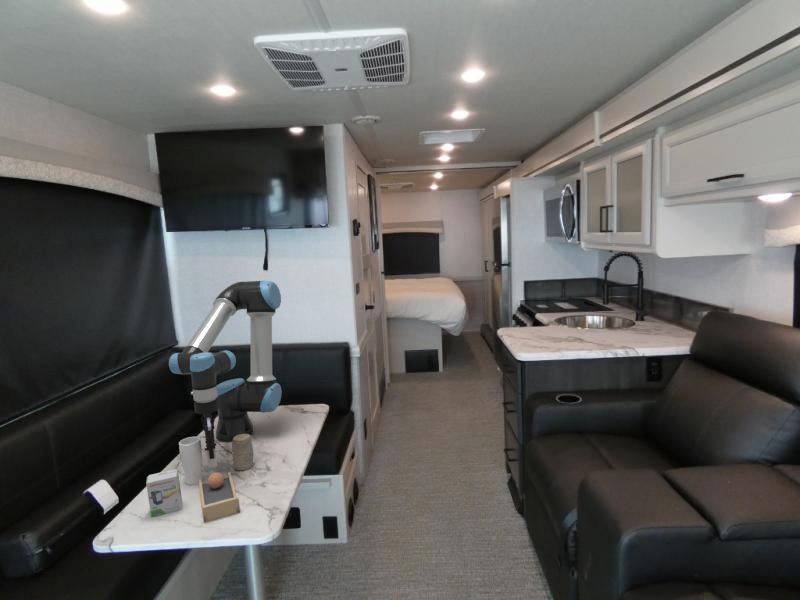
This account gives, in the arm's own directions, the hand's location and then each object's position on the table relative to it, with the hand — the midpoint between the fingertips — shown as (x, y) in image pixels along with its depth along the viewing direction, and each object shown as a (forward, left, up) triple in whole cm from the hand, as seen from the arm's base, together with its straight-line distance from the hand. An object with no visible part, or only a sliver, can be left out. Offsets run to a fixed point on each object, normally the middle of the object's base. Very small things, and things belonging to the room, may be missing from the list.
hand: (212, 466), depth 160 cm
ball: (+7, 0, -5) cm, 8 cm away
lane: (+14, 0, -5) cm, 15 cm away
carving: (-4, +11, -5) cm, 12 cm away
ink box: (+12, -14, -5) cm, 20 cm away
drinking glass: (-2, -6, -5) cm, 8 cm away
